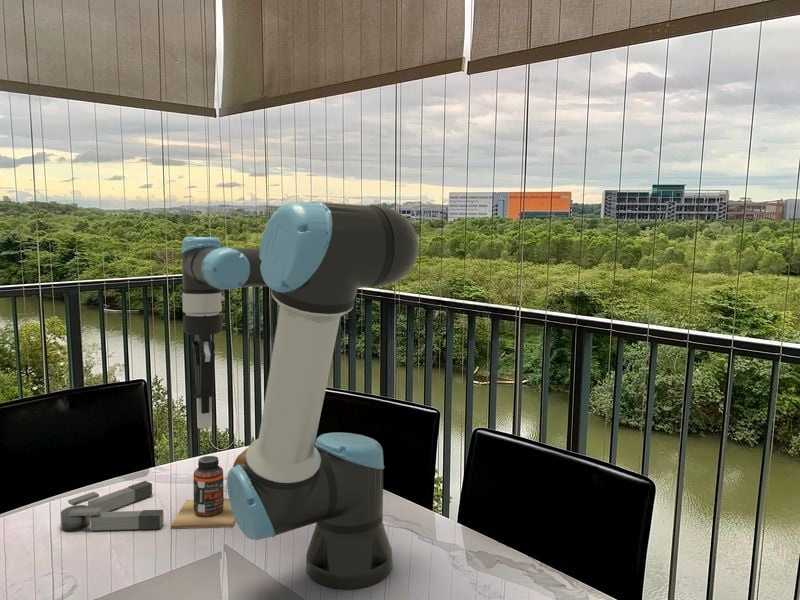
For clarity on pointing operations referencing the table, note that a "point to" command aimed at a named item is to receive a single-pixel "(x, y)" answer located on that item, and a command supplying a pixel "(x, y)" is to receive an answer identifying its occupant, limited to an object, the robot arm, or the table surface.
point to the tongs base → (109, 519)
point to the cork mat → (191, 520)
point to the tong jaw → (115, 497)
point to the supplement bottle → (208, 487)
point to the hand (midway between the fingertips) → (204, 426)
